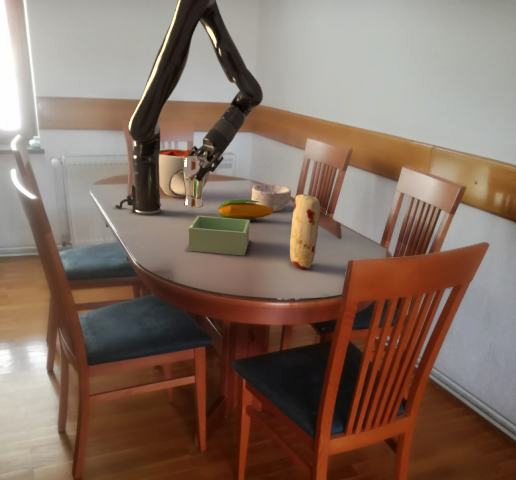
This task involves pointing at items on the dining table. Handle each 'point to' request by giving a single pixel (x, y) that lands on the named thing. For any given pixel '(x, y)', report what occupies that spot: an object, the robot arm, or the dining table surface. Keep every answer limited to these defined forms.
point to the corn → (243, 210)
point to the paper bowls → (271, 196)
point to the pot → (173, 172)
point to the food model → (304, 230)
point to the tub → (219, 235)
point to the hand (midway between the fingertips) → (189, 176)
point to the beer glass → (192, 181)
